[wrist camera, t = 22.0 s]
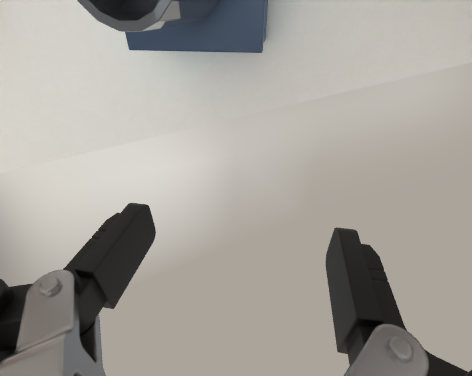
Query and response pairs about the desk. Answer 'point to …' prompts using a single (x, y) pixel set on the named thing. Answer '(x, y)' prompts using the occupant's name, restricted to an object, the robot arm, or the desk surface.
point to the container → (211, 31)
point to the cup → (148, 13)
